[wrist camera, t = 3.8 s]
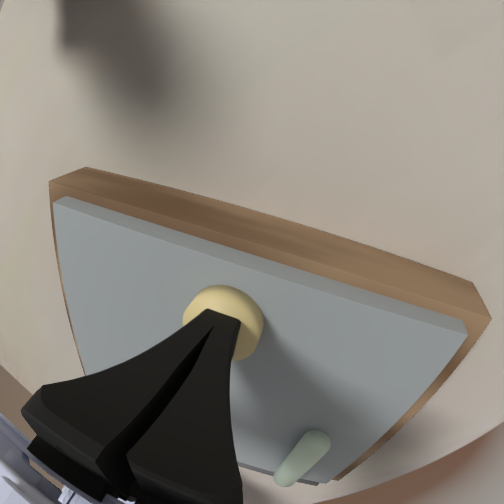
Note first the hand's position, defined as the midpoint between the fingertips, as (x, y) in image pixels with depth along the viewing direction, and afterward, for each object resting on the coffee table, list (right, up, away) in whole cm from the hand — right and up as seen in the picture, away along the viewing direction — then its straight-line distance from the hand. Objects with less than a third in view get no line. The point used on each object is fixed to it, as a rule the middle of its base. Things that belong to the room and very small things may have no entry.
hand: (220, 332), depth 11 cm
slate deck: (-1, -4, +5) cm, 6 cm away
